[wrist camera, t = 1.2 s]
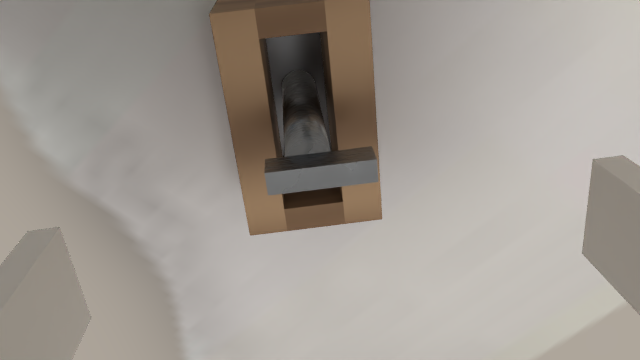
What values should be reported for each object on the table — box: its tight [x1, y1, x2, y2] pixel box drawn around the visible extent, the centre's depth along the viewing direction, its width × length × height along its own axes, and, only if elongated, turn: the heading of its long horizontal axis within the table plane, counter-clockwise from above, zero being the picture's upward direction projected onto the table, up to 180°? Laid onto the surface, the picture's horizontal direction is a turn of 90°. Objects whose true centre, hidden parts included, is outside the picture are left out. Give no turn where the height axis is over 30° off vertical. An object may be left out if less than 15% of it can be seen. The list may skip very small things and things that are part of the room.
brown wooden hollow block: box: [209, 0, 382, 235], centre depth 28 cm, size 12×6×6 cm, turn 6°
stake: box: [264, 70, 378, 196], centre depth 25 cm, size 2×4×11 cm, turn 96°
